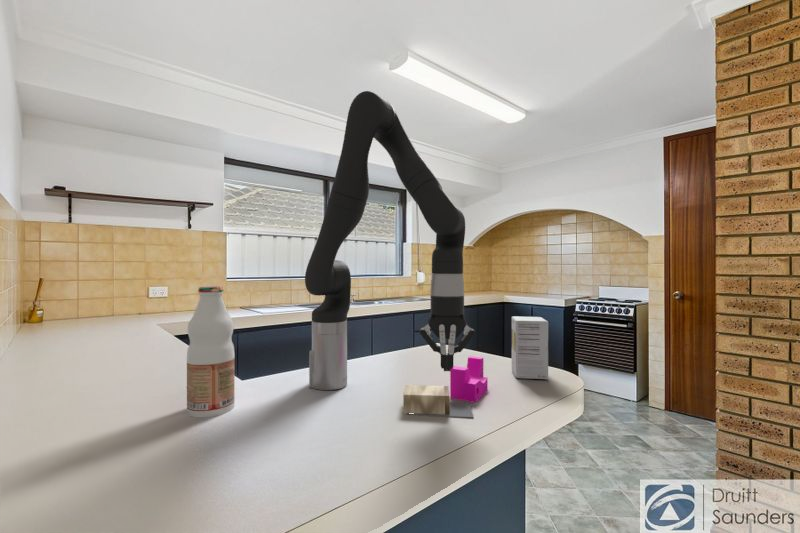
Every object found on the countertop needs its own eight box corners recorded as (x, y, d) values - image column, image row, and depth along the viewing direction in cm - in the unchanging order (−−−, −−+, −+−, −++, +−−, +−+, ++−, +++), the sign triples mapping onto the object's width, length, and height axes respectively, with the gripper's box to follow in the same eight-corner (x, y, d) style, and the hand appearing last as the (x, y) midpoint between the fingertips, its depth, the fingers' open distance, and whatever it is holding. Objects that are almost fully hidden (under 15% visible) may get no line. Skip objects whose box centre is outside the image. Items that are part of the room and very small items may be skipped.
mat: (398, 416, 84) (398, 414, 84) (402, 401, 93) (402, 400, 93) (473, 418, 83) (473, 416, 83) (469, 403, 92) (469, 402, 92)
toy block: (474, 403, 93) (474, 371, 93) (450, 398, 96) (450, 368, 96) (492, 386, 106) (492, 358, 106) (470, 382, 109) (470, 356, 109)
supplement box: (511, 369, 122) (510, 316, 122) (541, 370, 121) (541, 316, 121) (515, 378, 112) (515, 320, 112) (549, 379, 111) (549, 320, 111)
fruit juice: (185, 426, 79) (185, 288, 79) (187, 411, 87) (187, 286, 87) (235, 418, 83) (235, 287, 83) (233, 404, 92) (233, 285, 92)
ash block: (449, 414, 84) (403, 413, 85) (448, 403, 91) (405, 401, 92) (449, 395, 84) (403, 394, 85) (448, 386, 91) (405, 385, 92)
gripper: (417, 294, 85) (417, 374, 85) (478, 295, 84) (478, 375, 84) (418, 292, 92) (418, 365, 92) (475, 292, 91) (474, 366, 91)
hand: (447, 370), depth 88 cm, fingers closed
